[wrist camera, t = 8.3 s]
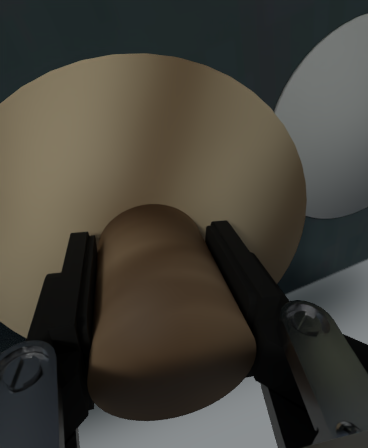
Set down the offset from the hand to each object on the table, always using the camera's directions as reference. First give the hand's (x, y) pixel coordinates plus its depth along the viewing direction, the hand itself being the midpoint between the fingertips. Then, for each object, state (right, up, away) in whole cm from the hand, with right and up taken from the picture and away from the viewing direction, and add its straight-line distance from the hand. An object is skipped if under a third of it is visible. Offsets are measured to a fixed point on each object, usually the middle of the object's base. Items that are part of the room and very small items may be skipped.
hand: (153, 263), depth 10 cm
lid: (0, +1, +2) cm, 2 cm away
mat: (+13, +8, +10) cm, 19 cm away
